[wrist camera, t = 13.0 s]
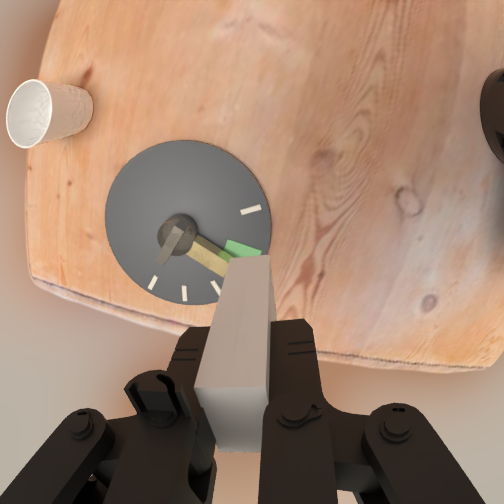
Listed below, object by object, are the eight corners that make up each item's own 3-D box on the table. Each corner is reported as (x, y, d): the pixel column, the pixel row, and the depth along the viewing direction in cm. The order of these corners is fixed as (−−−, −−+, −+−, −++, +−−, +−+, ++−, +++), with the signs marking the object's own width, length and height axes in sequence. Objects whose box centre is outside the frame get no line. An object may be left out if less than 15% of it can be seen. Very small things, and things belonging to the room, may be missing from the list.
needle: (157, 236, 39) (143, 253, 34) (175, 204, 37) (162, 217, 32) (241, 288, 41) (237, 311, 36) (263, 260, 39) (261, 280, 35)
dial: (104, 143, 36) (98, 144, 34) (276, 143, 35) (276, 143, 34) (119, 292, 44) (115, 297, 43) (265, 306, 44) (264, 312, 42)
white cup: (73, 73, 32) (26, 67, 23) (108, 102, 34) (63, 101, 24) (45, 119, 34) (-2, 125, 25) (77, 149, 36) (31, 161, 27)
